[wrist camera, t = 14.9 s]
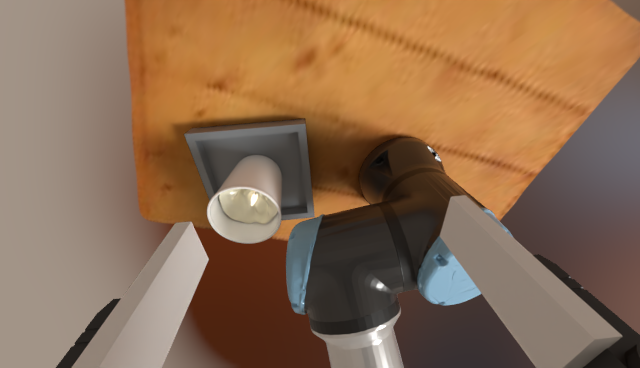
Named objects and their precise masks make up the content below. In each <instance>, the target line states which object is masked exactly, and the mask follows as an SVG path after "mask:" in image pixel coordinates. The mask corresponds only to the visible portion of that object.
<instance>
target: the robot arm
mask: <svg viewBox="0 0 640 368" xmlns="http://www.w3.org/2000/svg"><path fill="white" fill-rule="evenodd" d="M359 184H360V188H361V190H362V193H363V195H364V197H365V199H366V200H367V201H368V203H369V204H370V205H367V206H363V207H358V208H354V209H350V210H346V211H341V212H337V213H333V214H329V215H324V214H322V215H320V216H319V217H317V218H313V219H310V220H306V221H303V222H300V223H299V224H297V225H296V226H295V227H294V228H293V230H292V232H291V234H290V237H289V241H288V247H287V256H286V278H287V289H288V295H289V299H290V302H291V304H292V308H293V310H294V311H295V312H296V313H300V314H302V315H304V314H306V313H308V315H309V320H310V325H311V329H312V332H313V333H314V334H316V335H317V336H318V337H320V338H322V339H323V340H325V341H326V344H327V348H328V353H329V358H330V363H331V368H404V367H403V363H402V360H401V356H400V352H399V348H398V345H397V341H396V337H395V334H394V330H393V325H394V324H395V322H396V320H397V319H398V317H399V315H400V313H401V309H400V305H399V302H398V298H397V294H398V293H400V292H404V291H409V290H414V289H418V290H419V292H420V293H421V295H423V296H424V297H425V298H426V299H427V300H428V301H430V302H431V303H434V304H438V303H439V304H440V305H453V304H458V303H461V302H464V301H467V300H469V299H472V298H474V297H476V296H478V295H479V294H481V293H482V294H483V296H484V297H485V298H486V300H487V301H488V303H489V304H490V305H491V307H492V308H493V309H494V311H495V312H496V314H497V315H498V316H499V318H500V319H501V320H502V322H503V323H504V324H505V326H506V327H507V328H508V330H509V331H510V332H511V334H512V335H513V337H514V338H515V339H516V341H517V342H518V343H519V345H520V346H521V347H522V349H523V350H524V352H525V353H526V354H527V356H528V357H529V358H530V360H531V361H532V362H533V364H534V365H535V366H536V368H640V335H639V334H638V333H637V332H635V331H634V330H633V329H632V328H631V327H629V326H628V325H627V324H626V323H625V322H624V321H622V320H621V319H620V318H619V317H618V316H617V315H615V314H614V313H613V312H612V311H611V310H609V309H608V308H607V307H606V306H605V305H604V304H602V303H601V302H600V301H599V300H598V299H596V298H595V297H594V296H593V295H592V294H591V293H589V292H588V291H587V290H584V289H583V287H582V286H581V285H580V284H579V283H577V282H576V281H575V280H574V279H571V277H570V276H569V275H568V274H567V273H566V272H565V271H563V270H562V269H561V268H560V267H559V266H558V265H556V264H555V263H553V262H551V261H550V260H548V259H546V258H544V257H543V256H541V255H539V254H538V255H532V254H531V253H529V252H528V251H527V250H526V249H525V248H524V247H523V246H521V245H520V244H519V243H518V242H517V241H516V240H515V239H514V238H513V237H512V235H511V233H510V232H509V231H508V229H507V228H506V227H504V226H503V224H502V223H501V222H500V221H499V220H498V219H497V218H496V217H495V215H494V214H493V212H492V211H490V210H489V209H487V208H485V207H484V206H483V205H482V204H481V203H480V202H478V201H477V200H476V199H475V198H474V197H472V196H471V195H470V194H469V193H468V192H466V191H465V190H464V189H463V188H462V187H460V186H459V185H458V184H457V183H456V182H454V181H453V180H452V179H451V178H450V177H449V176H447V175H446V172H445V170H444V167H443V164H442V162H441V159H440V157H439V155H438V154H437V152H436V151H435V150H434V149H433V148H432V147H430V146H429V145H428V144H426V143H425V142H423V141H422V140H419V139H416V138H411V137H401V138H396V139H392V140H389V141H387V142H385V143H383V144H381V145H380V146H378V147H377V148H375V149H374V150H373V151H372V152H371V153H370V154H369V155H368V157H367V158H366V159H365V161H364V163H363V165H362V167H361V170H360V174H359ZM208 260H209V259H208V256H207V254H206V252H205V250H204V248H203V246H202V244H201V241H200V239H199V237H198V235H197V233H196V231H195V229H194V226H193V224H192V222H180V223H175V224H174V226H173V227H172V229H171V230H170V231H169V233H168V234H167V235H166V237H165V238H164V240H163V241H162V243H161V244H160V245H159V247H158V248H157V249H156V251H155V252H154V254H153V255H152V257H151V258H150V259H149V261H148V262H147V263H146V265H145V266H144V268H143V269H142V270H141V272H140V273H139V275H138V276H137V277H136V279H135V280H134V282H133V283H132V284H131V286H130V287H129V289H128V290H127V291H126V293H125V294H124V295H123V297H122V298H121V299H113V300H112V301H111V302H110V303H109V304H107V305H106V306H105V307H104V308H103V309H102V310H101V311H100V312H99V313H97V315H96V316H95V317H94V319H93V320H92V321H91V322H90V324H89V325H88V326H87V328H86V329H85V332H84V333H82V334H81V335H80V337H79V338H78V339H77V341H76V342H75V345H74V346H73V347H71V348H70V350H69V351H68V352H67V354H66V355H65V356H64V358H63V359H62V360H61V362H60V363H59V364H58V366H57V367H56V368H162V366H163V363H164V361H165V359H166V356H167V354H168V352H169V349H170V347H171V345H172V343H173V340H174V338H175V336H176V334H177V331H178V329H179V327H180V324H181V322H182V320H183V317H184V315H185V313H186V311H187V308H188V306H189V304H190V301H191V299H192V297H193V295H194V292H195V290H196V288H197V285H198V283H199V281H200V278H201V276H202V274H203V271H204V269H205V267H206V265H207V262H208Z"/></svg>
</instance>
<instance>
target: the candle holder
mask: <svg viewBox="0 0 640 368" xmlns="http://www.w3.org/2000/svg"><path fill="white" fill-rule="evenodd" d="M281 201H282V173H281V170H280V168H279V166H278V165H277V164H276V163H275V162H274V161H273V160H272V159H270V158H268V157H266V156H263V155H250V156H247V157H245V158H243V159H242V160H240V161H239V162H238V164H237V165H236V166H235V168H234V169H233V170H232V172H231V173H230V174H229V176H228V177H227V179H226V180H225V181H224V183H223V184H222V185H221V187H220V188H219V190H218V191H217V192H216V194H215V195H214V196H213V197H212V198H211V200H210V201H209V204H208V207H207V217H208V220H209V223H210V224H211V226H212V227H213V229H214V230H215V231H217V233H218V234H220V235H221V236H223V237H224V238H226V239H229V240H231V241H234V242H238V243H247V244H249V243H257V242H261V241H264V240H266V239H268V238H270V237H271V236H273V235H274V234H275V233H276V232H277V230H278V229H279V227H280V224H281V219H282V216H281Z"/></svg>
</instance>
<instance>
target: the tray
mask: <svg viewBox="0 0 640 368" xmlns="http://www.w3.org/2000/svg"><path fill="white" fill-rule="evenodd" d="M184 136H185V138H186V141H187V143H188V146H189V148H190V151H191V154H192V156H193V159H194V161H195V164H196V166H197V169H198V172H199V174H200V177H201V179H202V182H203V185H204V187H205V190H206V192H207V195H208V197H209V200H211V198H212V197H213V196H214V195H215V194H216V192H217V191H218V190H219V188H220V187H221V185H222V184H223V183H224V181H225V180H226V179H227V177H228V176H229V174H230V173H231V172H232V170H233V169H234V168H235V166H236V165H237V164H238V162H239V161H240V160H242V159H243V158H245V157H247V156H250V155H263V156H266V157H268V158H270V159H272V160H273V161H274V162H275V163H276V164H277V165H278V166H279V168H280V170H281V173H282V201H281V216H282V219H281V220H290V219H300V218H311V217H314V205H313V195H312V185H311V175H310V164H309V154H308V144H307V134H306V124H305V119H295V120H283V121H272V122H260V123H248V124H236V125H224V126H213V127H201V128H192V129H190V130H189V131H188V132H186V133H185V134H184Z"/></svg>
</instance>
